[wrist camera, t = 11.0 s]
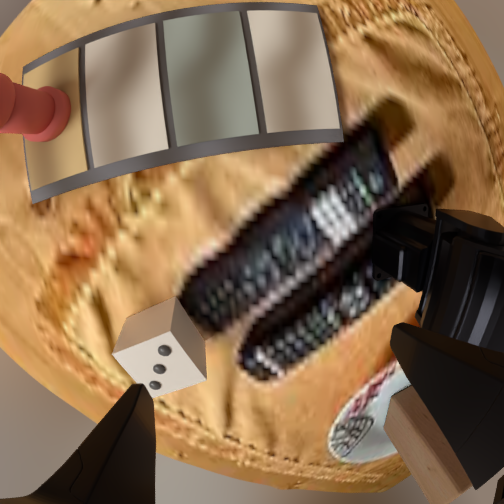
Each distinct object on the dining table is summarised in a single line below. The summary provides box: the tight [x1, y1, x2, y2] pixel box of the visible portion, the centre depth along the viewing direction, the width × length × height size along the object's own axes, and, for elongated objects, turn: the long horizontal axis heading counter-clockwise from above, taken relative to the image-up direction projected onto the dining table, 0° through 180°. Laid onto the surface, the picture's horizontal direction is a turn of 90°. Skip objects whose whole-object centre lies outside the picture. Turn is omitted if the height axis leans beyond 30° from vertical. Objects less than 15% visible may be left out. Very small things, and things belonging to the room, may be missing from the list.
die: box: [112, 296, 207, 398], centre depth 20 cm, size 5×5×5 cm
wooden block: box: [384, 386, 473, 504], centre depth 24 cm, size 10×10×20 cm
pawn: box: [0, 73, 71, 142], centre depth 9 cm, size 4×4×9 cm
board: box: [22, 2, 344, 204], centre depth 15 cm, size 24×12×1 cm, turn 98°
